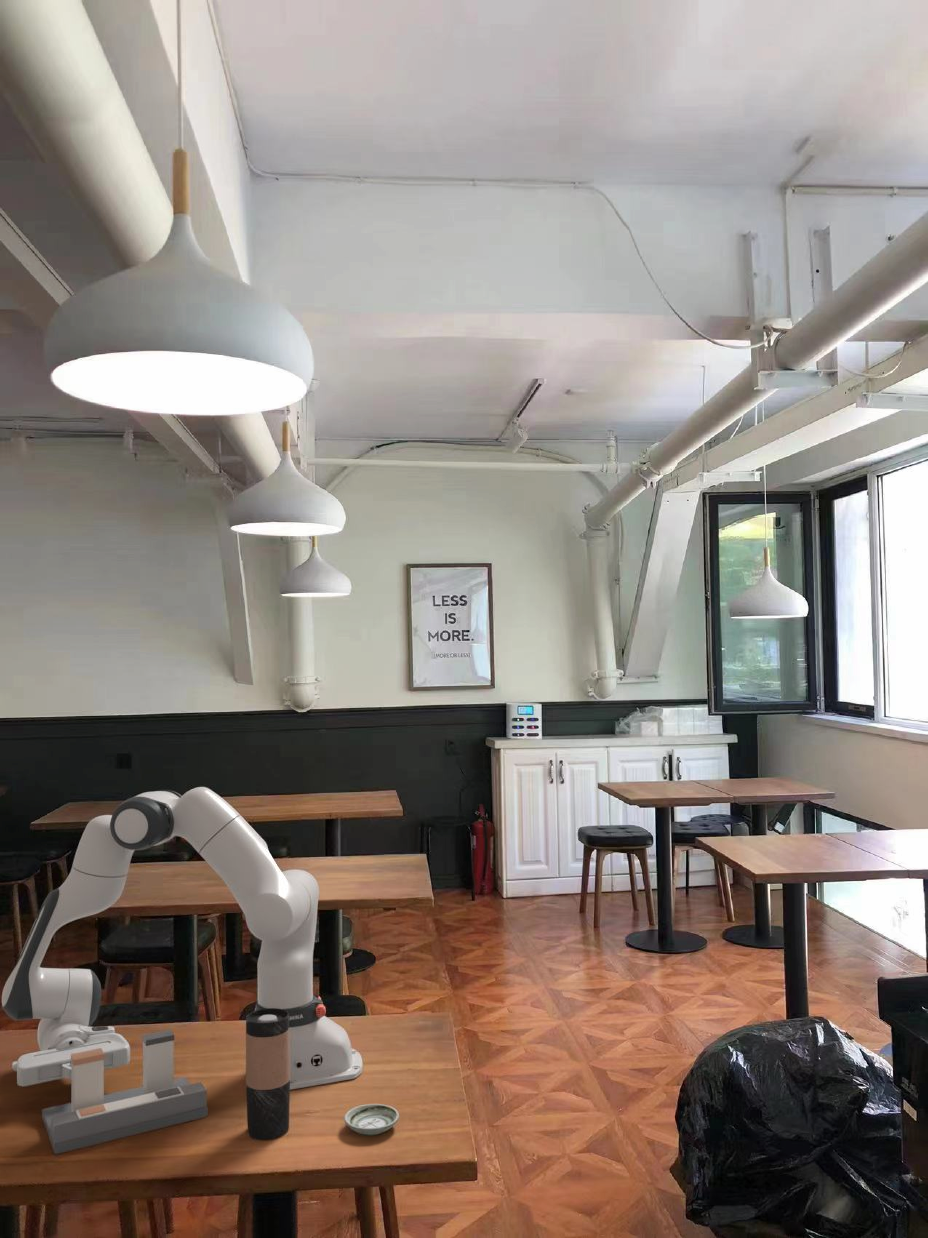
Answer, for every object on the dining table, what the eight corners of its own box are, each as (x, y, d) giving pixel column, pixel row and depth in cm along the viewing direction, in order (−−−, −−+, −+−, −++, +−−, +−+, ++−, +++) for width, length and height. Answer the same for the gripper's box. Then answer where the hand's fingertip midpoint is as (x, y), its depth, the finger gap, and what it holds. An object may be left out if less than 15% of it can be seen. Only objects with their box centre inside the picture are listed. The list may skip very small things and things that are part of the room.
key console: (185, 1084, 193) (185, 1059, 193) (207, 1116, 179) (207, 1089, 180) (42, 1117, 180) (42, 1090, 180) (54, 1154, 166) (54, 1125, 167)
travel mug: (299, 1125, 175) (297, 1011, 176) (273, 1144, 168) (272, 1025, 169) (263, 1117, 179) (262, 1005, 179) (237, 1136, 172) (236, 1019, 173)
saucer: (376, 1148, 167) (376, 1133, 167) (333, 1134, 172) (332, 1120, 172) (410, 1124, 175) (409, 1110, 175) (367, 1112, 180) (367, 1098, 180)
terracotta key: (70, 1116, 176) (70, 1054, 177) (101, 1109, 179) (101, 1048, 179) (73, 1123, 174) (73, 1060, 174) (104, 1116, 176) (104, 1053, 177)
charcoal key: (142, 1094, 185) (142, 1035, 185) (170, 1088, 188) (170, 1029, 188) (146, 1101, 182) (146, 1040, 183) (174, 1094, 185) (174, 1034, 185)
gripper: (10, 1045, 189) (19, 1070, 177) (121, 1024, 199) (136, 1047, 187) (10, 1078, 189) (19, 1106, 177) (121, 1056, 199) (136, 1080, 187)
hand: (80, 1075), depth 182 cm, fingers closed
